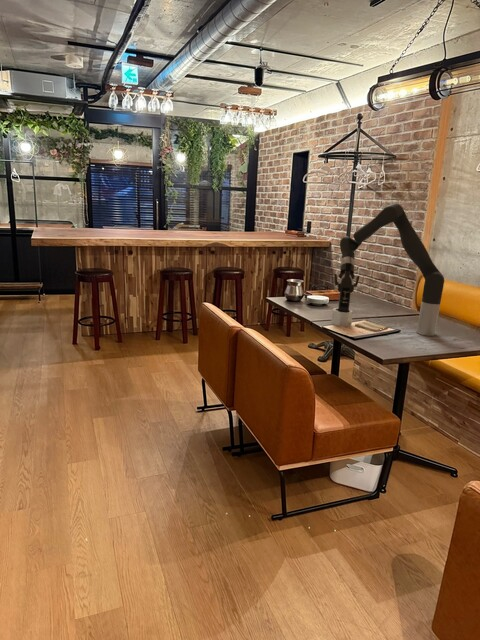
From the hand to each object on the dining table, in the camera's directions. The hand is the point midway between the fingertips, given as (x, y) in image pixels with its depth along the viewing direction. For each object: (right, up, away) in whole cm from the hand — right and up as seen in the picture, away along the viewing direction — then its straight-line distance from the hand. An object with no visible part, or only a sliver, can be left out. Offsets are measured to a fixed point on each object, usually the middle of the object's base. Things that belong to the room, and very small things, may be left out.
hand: (345, 291), depth 248 cm
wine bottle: (0, -14, +6) cm, 15 cm away
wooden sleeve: (-1, -18, +6) cm, 19 cm away
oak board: (+15, -19, +4) cm, 25 cm away
